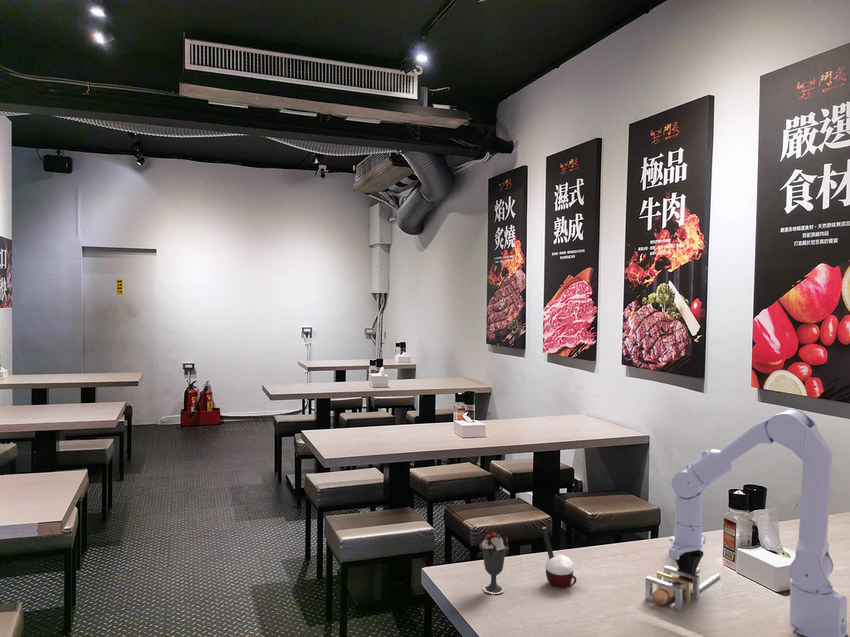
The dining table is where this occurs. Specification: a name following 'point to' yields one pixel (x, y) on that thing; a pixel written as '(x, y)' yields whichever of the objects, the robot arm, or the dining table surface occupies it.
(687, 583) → the white wire rack
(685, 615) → the dining table surface
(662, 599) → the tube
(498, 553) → the sundae
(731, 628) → the dining table surface
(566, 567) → the cocoa
